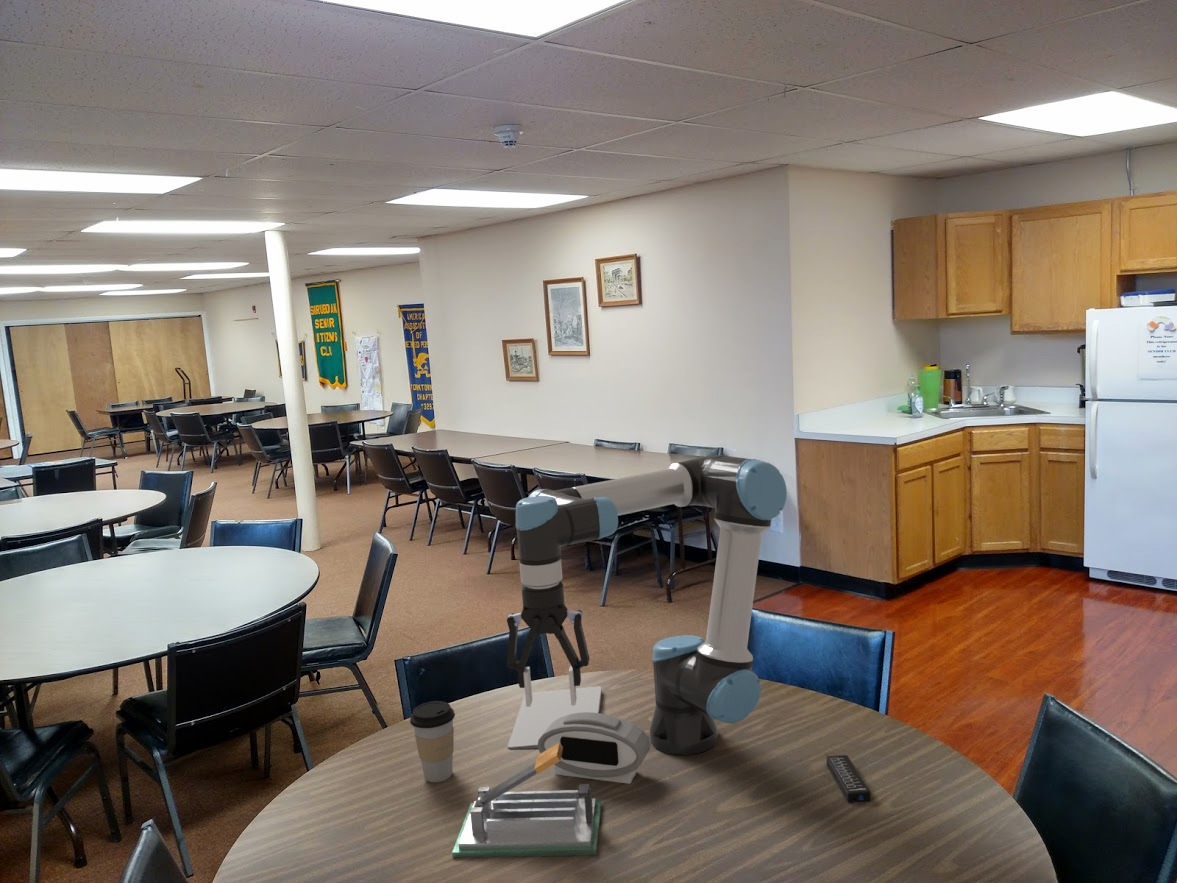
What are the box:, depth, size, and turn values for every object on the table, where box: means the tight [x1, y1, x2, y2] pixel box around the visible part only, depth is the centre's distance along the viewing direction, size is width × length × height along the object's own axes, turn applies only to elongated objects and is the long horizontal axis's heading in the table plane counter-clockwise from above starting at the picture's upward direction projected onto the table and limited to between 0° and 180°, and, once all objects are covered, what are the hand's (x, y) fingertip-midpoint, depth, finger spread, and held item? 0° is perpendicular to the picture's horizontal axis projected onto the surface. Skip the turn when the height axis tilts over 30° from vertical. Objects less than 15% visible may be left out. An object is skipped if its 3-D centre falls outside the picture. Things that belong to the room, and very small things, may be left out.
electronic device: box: [507, 685, 603, 750], centre depth 208 cm, size 29×20×2 cm
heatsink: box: [451, 783, 602, 858], centre depth 162 cm, size 26×16×8 cm, turn 86°
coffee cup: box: [409, 700, 456, 783], centre depth 184 cm, size 9×9×15 cm
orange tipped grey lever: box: [474, 742, 563, 807], centre depth 161 cm, size 19×5×2 cm, turn 85°
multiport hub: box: [826, 754, 872, 804], centre depth 171 cm, size 4×14×2 cm, turn 1°
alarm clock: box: [537, 712, 652, 784], centre depth 180 cm, size 23×6×13 cm, turn 70°
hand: (551, 702), depth 158 cm, fingers open, 8 cm apart
